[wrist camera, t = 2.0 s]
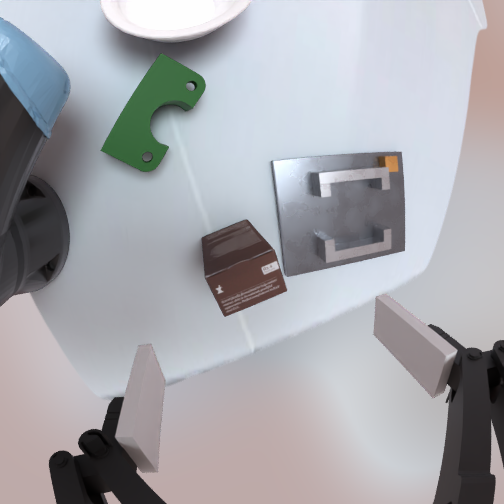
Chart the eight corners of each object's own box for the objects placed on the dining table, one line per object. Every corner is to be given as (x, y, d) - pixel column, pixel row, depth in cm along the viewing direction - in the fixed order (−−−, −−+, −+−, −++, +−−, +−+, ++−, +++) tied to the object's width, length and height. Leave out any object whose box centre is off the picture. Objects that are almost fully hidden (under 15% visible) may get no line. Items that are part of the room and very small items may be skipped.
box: (215, 270, 36) (223, 319, 24) (200, 236, 34) (201, 273, 23) (261, 251, 36) (289, 292, 25) (249, 217, 35) (272, 244, 23)
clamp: (156, 152, 35) (144, 189, 28) (116, 132, 32) (94, 164, 25) (210, 74, 29) (211, 90, 22) (167, 49, 26) (153, 57, 19)
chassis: (284, 274, 37) (292, 284, 34) (271, 161, 33) (278, 160, 30) (400, 248, 39) (414, 255, 36) (397, 151, 35) (412, 151, 32)
